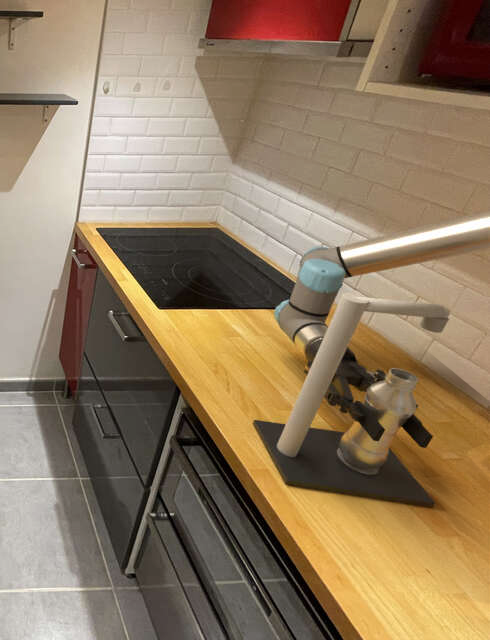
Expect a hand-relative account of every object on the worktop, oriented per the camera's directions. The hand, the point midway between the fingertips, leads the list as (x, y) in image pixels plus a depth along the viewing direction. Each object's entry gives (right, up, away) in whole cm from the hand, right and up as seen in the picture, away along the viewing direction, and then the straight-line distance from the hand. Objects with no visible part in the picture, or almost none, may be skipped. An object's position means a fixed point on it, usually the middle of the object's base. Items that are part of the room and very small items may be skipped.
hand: (402, 438), depth 74 cm
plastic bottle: (+1, -8, +9) cm, 12 cm away
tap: (-3, -9, +10) cm, 14 cm away
